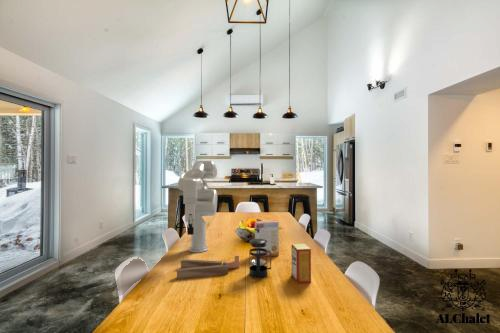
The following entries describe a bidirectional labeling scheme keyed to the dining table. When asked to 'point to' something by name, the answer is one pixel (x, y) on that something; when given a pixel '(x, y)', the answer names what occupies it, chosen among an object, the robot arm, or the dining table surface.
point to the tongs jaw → (198, 263)
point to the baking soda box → (301, 263)
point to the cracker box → (269, 236)
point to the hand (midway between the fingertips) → (190, 233)
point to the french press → (258, 258)
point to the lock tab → (234, 262)
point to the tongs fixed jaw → (202, 271)
